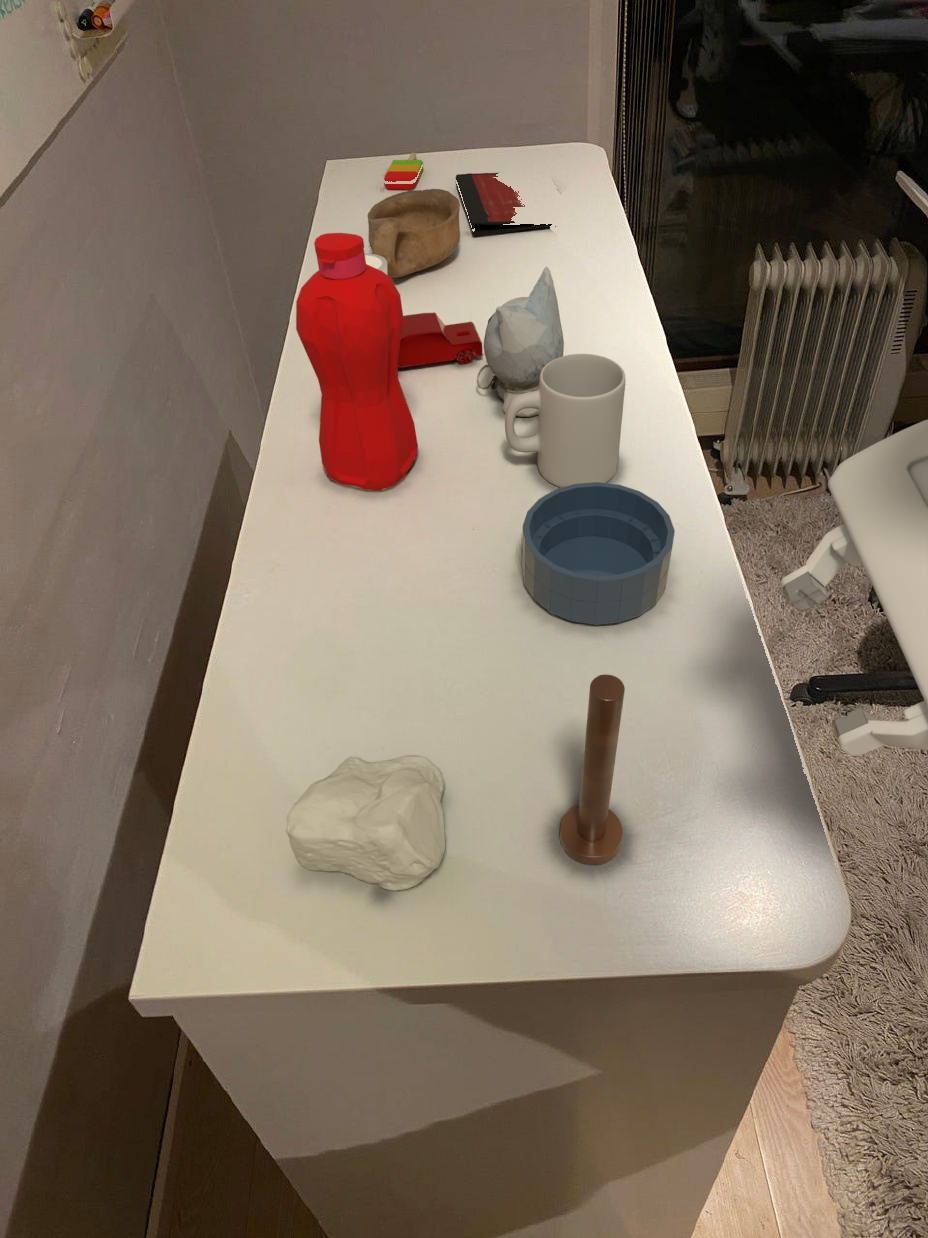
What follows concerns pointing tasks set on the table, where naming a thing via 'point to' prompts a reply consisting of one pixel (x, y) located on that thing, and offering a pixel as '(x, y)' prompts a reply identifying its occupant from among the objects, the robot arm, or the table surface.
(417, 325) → the toy car
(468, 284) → the table surface
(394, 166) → the popsicle
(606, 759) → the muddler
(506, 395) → the figurine
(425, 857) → the decorative stone
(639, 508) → the stir bowl
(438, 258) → the bowl
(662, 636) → the table surface
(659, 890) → the table surface
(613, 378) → the mug
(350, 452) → the water bottle
